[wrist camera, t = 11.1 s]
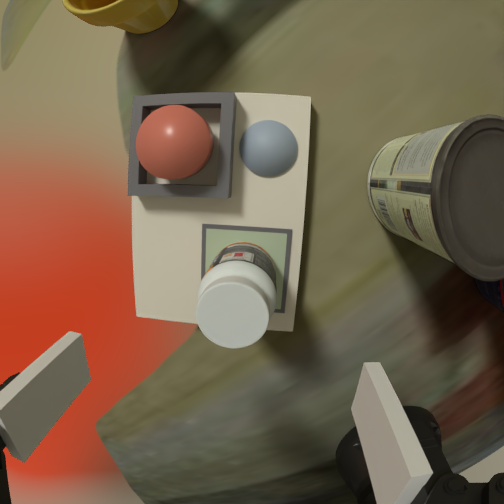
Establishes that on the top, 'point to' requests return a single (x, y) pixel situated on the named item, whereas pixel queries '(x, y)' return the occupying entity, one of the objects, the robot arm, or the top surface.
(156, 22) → the plant pot
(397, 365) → the top surface
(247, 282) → the pill bottle
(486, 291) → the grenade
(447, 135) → the coffee can
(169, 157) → the button
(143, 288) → the white control panel
